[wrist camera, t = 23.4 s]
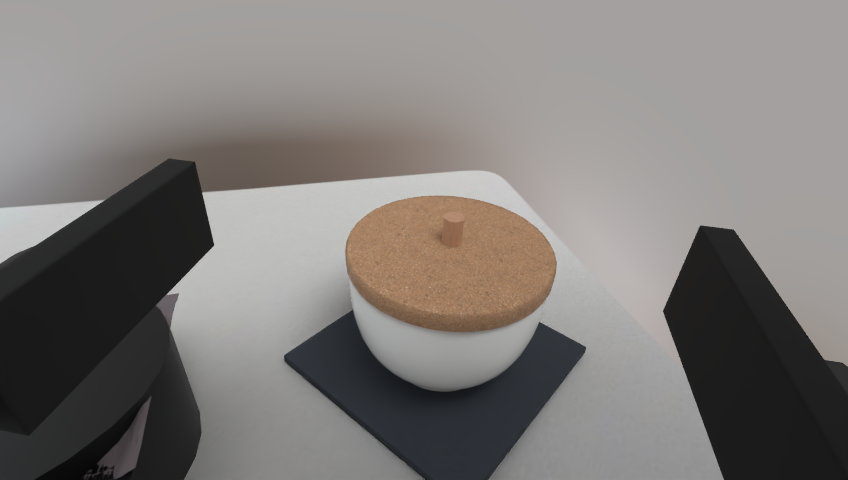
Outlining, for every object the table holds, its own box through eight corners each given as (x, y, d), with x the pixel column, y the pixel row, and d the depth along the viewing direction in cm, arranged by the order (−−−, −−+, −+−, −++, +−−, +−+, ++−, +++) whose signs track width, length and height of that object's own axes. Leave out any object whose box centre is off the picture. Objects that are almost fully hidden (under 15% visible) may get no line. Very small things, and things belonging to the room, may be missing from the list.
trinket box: (391, 278, 34) (394, 156, 29) (540, 317, 32) (573, 192, 27) (315, 391, 26) (300, 248, 21) (512, 458, 23) (550, 313, 18)
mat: (584, 352, 30) (586, 346, 30) (463, 511, 22) (464, 505, 21) (425, 266, 37) (426, 260, 36) (284, 361, 28) (283, 355, 28)
